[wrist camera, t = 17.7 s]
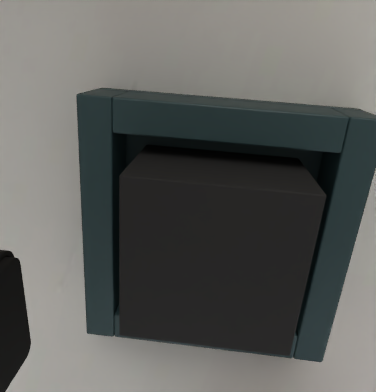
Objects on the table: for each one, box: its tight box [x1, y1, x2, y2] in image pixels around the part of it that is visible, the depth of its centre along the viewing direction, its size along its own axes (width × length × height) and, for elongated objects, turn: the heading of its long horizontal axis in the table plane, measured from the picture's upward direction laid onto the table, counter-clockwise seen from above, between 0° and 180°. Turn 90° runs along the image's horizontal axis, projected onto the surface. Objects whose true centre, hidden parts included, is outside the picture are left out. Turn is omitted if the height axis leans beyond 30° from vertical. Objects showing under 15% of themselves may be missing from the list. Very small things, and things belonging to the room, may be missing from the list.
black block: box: [119, 145, 326, 356], centre depth 13 cm, size 6×6×4 cm
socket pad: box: [77, 88, 376, 362], centre depth 14 cm, size 10×10×3 cm
